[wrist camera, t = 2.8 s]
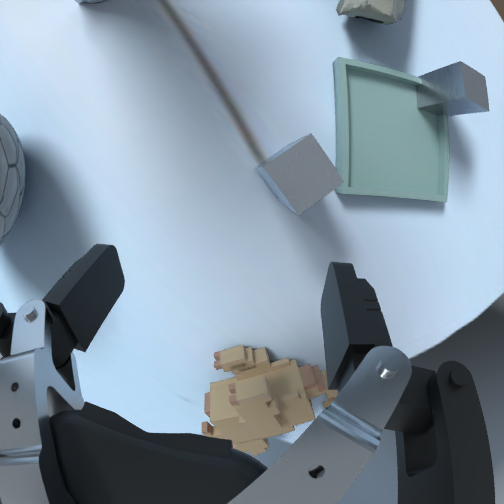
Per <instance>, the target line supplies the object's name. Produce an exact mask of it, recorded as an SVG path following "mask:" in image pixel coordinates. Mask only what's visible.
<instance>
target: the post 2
mask: <svg viewBox="0 0 504 504" xmlns="http://www.w3.org/2000/svg"><path fill="white" fill-rule="evenodd" d="M418 78H421V81H422V84H420V85H417V86H416V96H417V108H418V109H421V110H423V111H426V112H429V113H432V114H434V115H437V116H438V115H446V116H453V115H460V114H468V113H477V112H487V111H489V103H488V94H487V87H486V80H485V76H483V75H482V74H480V73H479V72H477V71H476V70H474V69H473V68H471V67H469V66H468V65H466V64H464V63H463V62H461V61H460V62H457V63H454V64H451V65H448V66H445V67H443V68H440V69H437V70H434V71H432V72H429V73H427V74H424V75H421V76H419V77H418Z"/></svg>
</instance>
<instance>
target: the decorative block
mask: <svg viewBox="0 0 504 504" xmlns="http://www.w3.org/2000/svg"><path fill="white" fill-rule="evenodd" d="M404 5H405V0H340V1H339V3H338V6H337V9H336V10H337V13H338V15H347V16H349V17H354V18H359V17H361V18H364V19H368V20H371V21H373V22H377V23H381V24H385V25H387V24H392V23H393V22H397V21H398V20H400V19H401V16H402V15H403V13H404Z"/></svg>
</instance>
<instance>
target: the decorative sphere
mask: <svg viewBox="0 0 504 504" xmlns="http://www.w3.org/2000/svg"><path fill="white" fill-rule="evenodd" d="M25 176H26V174H25V159H24V154H23V149H22V146H21V143H20V140H19V138H18V135H17V133H16V131H15V130H14V128H13V127H12V125H11V124H10V123H9V122H8V120H7V119H6V118H5V117H3V116H2V115H1V114H0V245H1V244H2V242H3V241H4V240H5V238H6V237H7V235H8V234H9V232H10V231H11V229H12V227H13V225H14V223H15V221H16V218H17V216H18V213H19V210H20V207H21V204H22V199H23V195H24V189H25Z"/></svg>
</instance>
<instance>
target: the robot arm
mask: <svg viewBox="0 0 504 504" xmlns="http://www.w3.org/2000/svg"><path fill="white" fill-rule="evenodd" d="M75 1H76V2H77V3H81V2H88V3H95V2H100V1H103V0H75ZM124 284H125V280H124V275H123V271H122V268H121V264H120V261H119V257H118V253H117V250H116V248H115V246H113V245H105V244H96V245H94V246H93V247H92V248H91V249H90V250H89V251H88V253H87V254H86V255H85V256H84V257H82V258H81V259H79V260H78V261H76V262H75V263H74V264H73V265H72V266H71V267H70V268H69V270H68V272H66V273H65V274H64V275H63V276H62V278H60V280H59V281H58V282H57V283H56V284H55V285H54V287H53V288H52V289H51V290H50V291H49V292H48V294H47V295H46V296H45V297H44V298H43V300H42V301H41V300H31V301H29V302H27V303H25V304H24V305H23V306H21V307H20V309H19V310H18V311H17V313H7V311H6V309H5V307H4V306H3V304H2V303H0V353H1V355H2V356H3V357H2V358H1V359H0V504H336V503H337V502H338V501H339V500H340V499H341V497H342V496H343V495H344V494H345V493H346V491H347V490H348V489H349V487H350V486H351V485H352V483H353V482H354V481H355V480H356V478H357V477H358V475H359V474H360V473H361V471H362V470H363V469H364V467H365V466H366V464H367V463H368V461H369V460H370V458H371V457H372V455H373V454H374V452H375V451H376V449H377V447H378V445H379V443H380V438H379V436H380V434H381V432H382V430H383V429H389V430H394V431H395V433H396V445H397V465H398V504H495V489H494V476H493V467H492V459H491V452H490V446H489V440H488V435H487V430H486V425H485V421H484V417H483V413H482V409H481V405H480V401H479V397H478V394H477V390H476V387H475V384H474V381H473V378H472V375H471V373H470V372H469V370H468V369H467V368H466V367H465V366H464V365H462V364H461V363H459V362H456V361H447V362H445V363H443V364H442V365H441V366H440V367H439V368H438V369H437V370H436V371H433V370H428V369H424V368H420V367H415V366H412V365H411V363H410V361H409V359H408V358H407V356H406V355H405V354H404V353H403V352H402V351H400V350H398V349H396V348H394V347H393V346H392V343H391V340H390V336H389V333H388V330H387V326H386V323H385V320H384V317H383V314H382V311H381V308H380V305H379V302H378V299H377V296H376V294H375V291H374V288H373V287H372V286H371V285H370V284H369V283H368V282H367V281H366V280H365V279H360V278H357V277H356V273H355V270H354V267H353V265H352V264H351V263H338V262H331V263H330V265H329V268H328V273H327V277H326V281H325V286H324V290H323V294H322V299H321V319H322V328H323V338H324V348H325V360H326V372H327V386H328V390H338V395H337V397H336V398H335V399H334V400H333V402H332V403H331V404H330V405H329V406H328V407H326V408H325V409H324V410H323V411H322V412H321V413H320V414H319V416H318V417H317V418H316V419H315V420H314V421H313V423H312V424H311V425H310V426H309V427H308V428H307V429H306V430H305V432H304V433H303V434H302V435H301V436H300V437H299V438H298V439H297V440H296V441H295V442H294V443H293V444H292V446H291V447H290V448H289V449H288V450H287V451H286V452H285V453H284V454H283V455H282V456H281V457H280V458H279V459H278V460H277V461H276V462H275V463H274V464H272V465H271V466H270V467H269V468H267V467H266V466H265V465H263V464H262V463H261V462H260V461H258V460H256V459H255V458H253V457H252V456H250V455H248V454H246V453H244V452H242V451H239V450H237V449H234V448H233V444H232V440H227V439H220V438H214V437H208V436H202V435H197V434H192V433H148V432H145V431H143V430H142V429H140V428H138V427H137V426H135V425H133V424H132V423H130V422H129V421H127V420H126V419H124V418H122V417H121V416H119V415H118V414H116V413H115V412H112V411H109V410H106V409H104V408H101V407H99V406H96V405H93V404H91V403H88V402H86V401H85V402H84V400H83V397H82V394H81V389H80V383H79V377H78V370H77V363H76V357H75V355H74V353H73V352H72V351H73V349H77V350H80V351H83V352H86V350H87V348H88V347H89V345H90V343H91V341H92V340H93V338H94V336H95V335H96V333H97V331H98V330H99V328H100V326H101V325H102V323H103V321H104V320H105V318H106V317H107V315H108V313H109V312H110V310H111V309H112V307H113V306H114V304H115V302H116V301H117V299H118V298H119V296H120V295H121V293H122V292H123V289H124Z"/></svg>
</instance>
